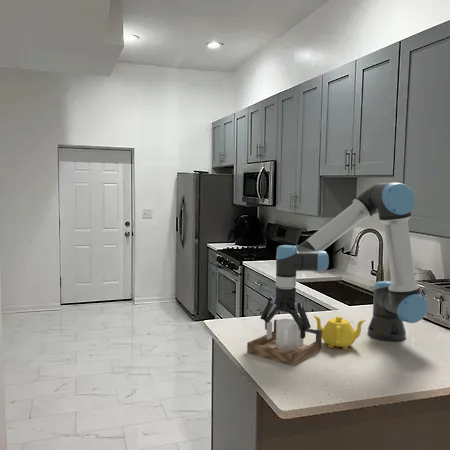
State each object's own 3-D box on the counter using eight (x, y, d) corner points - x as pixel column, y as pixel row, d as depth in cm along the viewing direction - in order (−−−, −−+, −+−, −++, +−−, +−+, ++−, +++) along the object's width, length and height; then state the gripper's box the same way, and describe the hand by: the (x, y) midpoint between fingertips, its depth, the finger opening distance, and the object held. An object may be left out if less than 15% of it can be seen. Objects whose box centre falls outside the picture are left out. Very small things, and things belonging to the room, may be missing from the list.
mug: (296, 356, 166) (297, 328, 165) (273, 354, 168) (274, 327, 167) (298, 345, 178) (298, 319, 177) (276, 343, 179) (277, 317, 179)
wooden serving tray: (321, 350, 175) (321, 329, 174) (294, 366, 159) (295, 343, 158) (275, 339, 188) (276, 319, 187) (246, 352, 172) (247, 331, 171)
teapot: (310, 349, 176) (311, 320, 175) (313, 337, 190) (314, 310, 189) (364, 355, 170) (366, 325, 169) (364, 342, 184) (365, 314, 183)
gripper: (320, 290, 166) (319, 347, 168) (263, 280, 182) (262, 333, 184) (311, 293, 161) (309, 352, 162) (252, 283, 176) (251, 337, 178)
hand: (284, 342), depth 173 cm, fingers open, 13 cm apart
